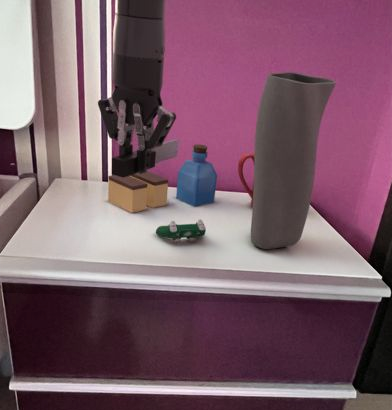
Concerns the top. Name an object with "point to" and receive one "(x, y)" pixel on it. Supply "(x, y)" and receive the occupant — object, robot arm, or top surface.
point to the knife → (168, 150)
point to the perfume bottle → (197, 179)
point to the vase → (286, 156)
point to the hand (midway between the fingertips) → (134, 170)
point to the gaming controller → (182, 231)
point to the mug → (240, 171)
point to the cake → (137, 191)
